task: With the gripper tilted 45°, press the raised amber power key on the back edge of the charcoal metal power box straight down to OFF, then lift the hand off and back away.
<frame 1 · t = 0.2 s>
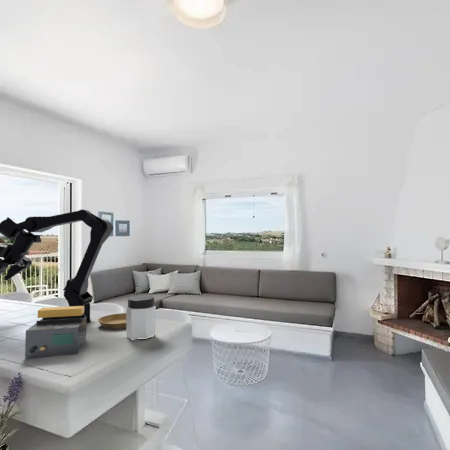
plant saucer: (119, 325, 113), on the table
jar: (140, 337, 99), on the table
power key: (61, 311, 91), point 9 cm above the table, slide at 0.0 cm
power box: (58, 348, 88), on the table
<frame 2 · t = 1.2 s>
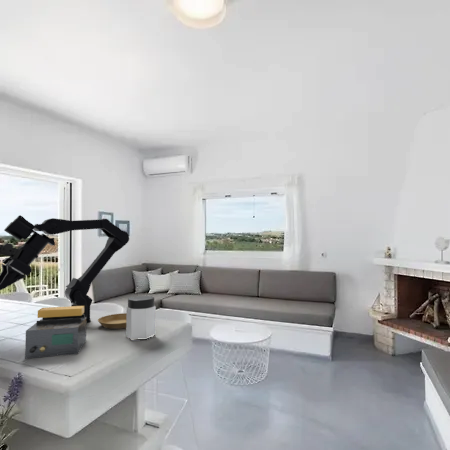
nothing on the table moved.
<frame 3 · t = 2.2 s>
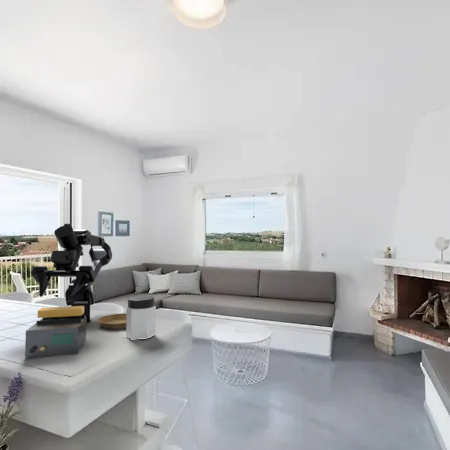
hand: (55, 295, 98), 13 cm above the table, tool tilted 45°, fingers open, 9 cm apart
nothing on the table moved.
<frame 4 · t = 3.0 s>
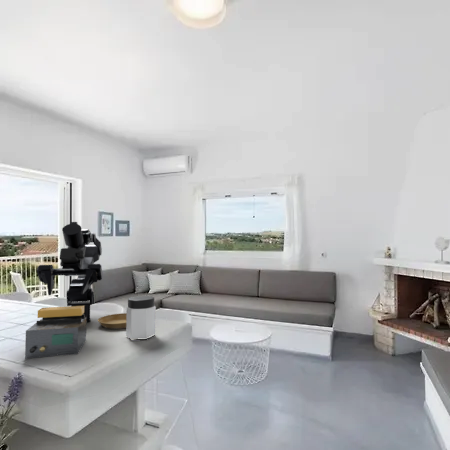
hand: (65, 293, 96), 14 cm above the table, tool tilted 45°, fingers open, 9 cm apart
nothing on the table moved.
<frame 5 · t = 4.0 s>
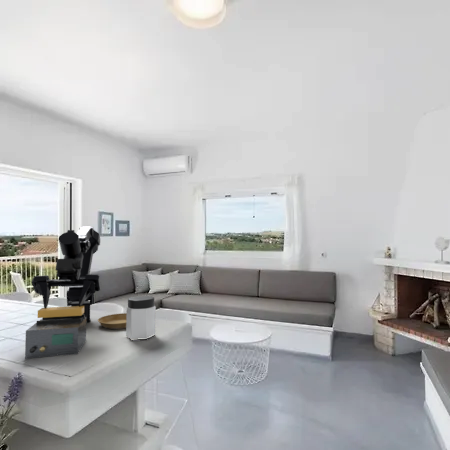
hand: (62, 306, 92), 11 cm above the table, tool tilted 45°
power key: (61, 311, 91), point 9 cm above the table, slide at 0.0 cm, touching gripper
everything else where it was.
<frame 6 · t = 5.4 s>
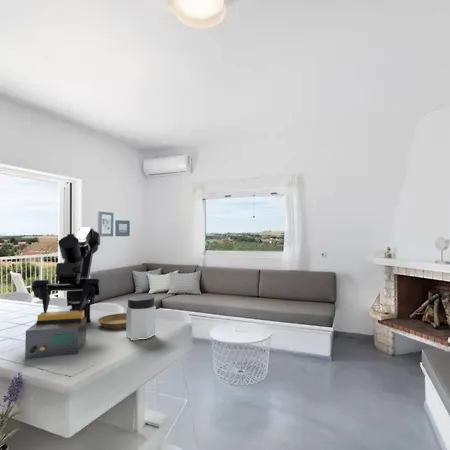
hand: (62, 311, 92), 10 cm above the table, tool tilted 45°, fingers open, 9 cm apart
power key: (61, 316, 91), point 8 cm above the table, slide at 1.3 cm
everything else where it was.
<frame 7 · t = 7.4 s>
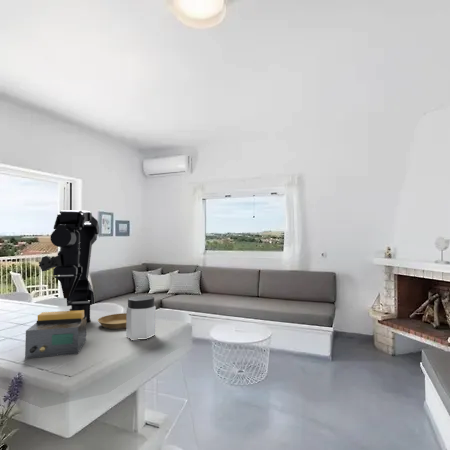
hand: (68, 296, 101), 12 cm above the table, tool pointing down, fingers open, 9 cm apart
nothing on the table moved.
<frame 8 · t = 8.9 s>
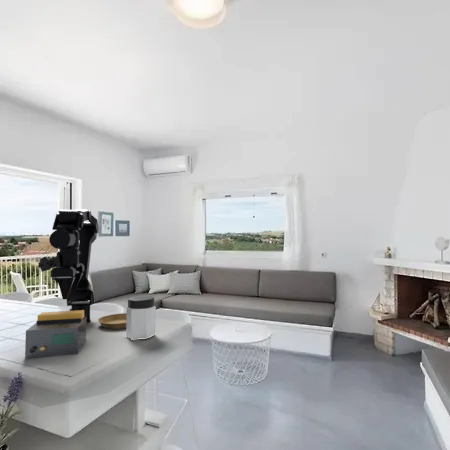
hand: (68, 296, 102), 12 cm above the table, tool pointing down, fingers open, 9 cm apart
nothing on the table moved.
at the end: power key slide at 1.3 cm; jar moved 0.2 cm from its start; plant saucer moved 0.5 cm from its start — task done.
